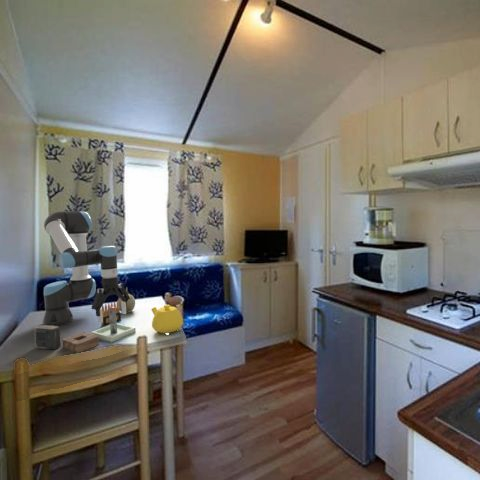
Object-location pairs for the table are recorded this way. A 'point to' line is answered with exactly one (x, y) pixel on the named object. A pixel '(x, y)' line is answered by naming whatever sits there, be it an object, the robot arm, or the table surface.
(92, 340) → the slotted wooden block
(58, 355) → the table surface
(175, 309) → the teapot
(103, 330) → the tray
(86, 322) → the table surface
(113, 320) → the pin
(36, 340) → the camera
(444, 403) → the table surface
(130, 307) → the fruit
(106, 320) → the ammunition clip
